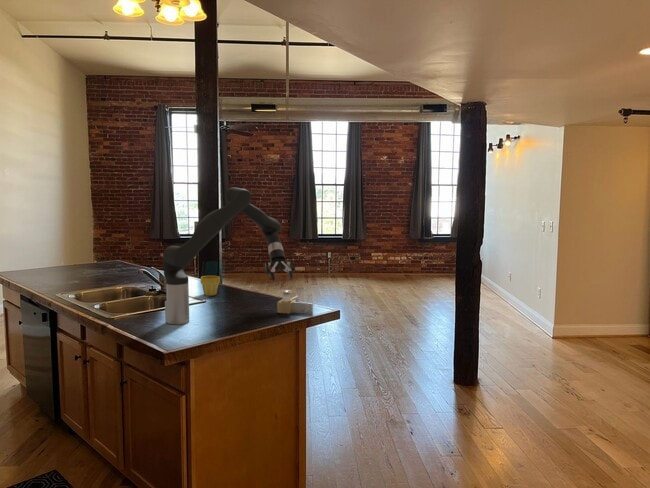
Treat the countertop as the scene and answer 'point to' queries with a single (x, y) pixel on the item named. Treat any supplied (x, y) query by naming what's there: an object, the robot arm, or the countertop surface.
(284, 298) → the pin
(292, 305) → the shallow cream box
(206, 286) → the plant pot
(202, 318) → the countertop surface
